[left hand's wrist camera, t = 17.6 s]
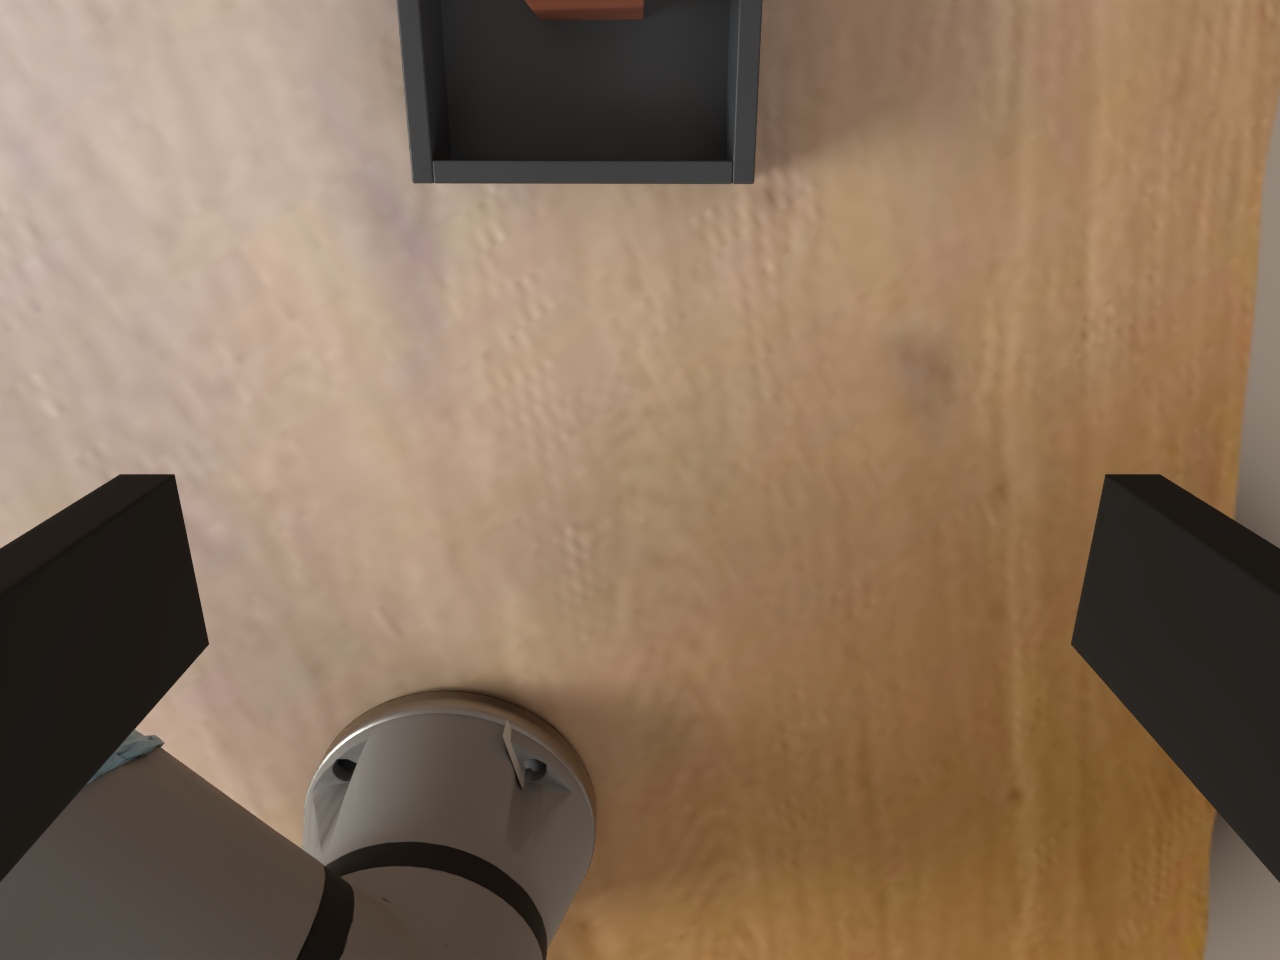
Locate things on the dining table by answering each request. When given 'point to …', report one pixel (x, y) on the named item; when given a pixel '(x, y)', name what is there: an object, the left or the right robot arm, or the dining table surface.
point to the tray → (581, 93)
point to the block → (587, 9)
